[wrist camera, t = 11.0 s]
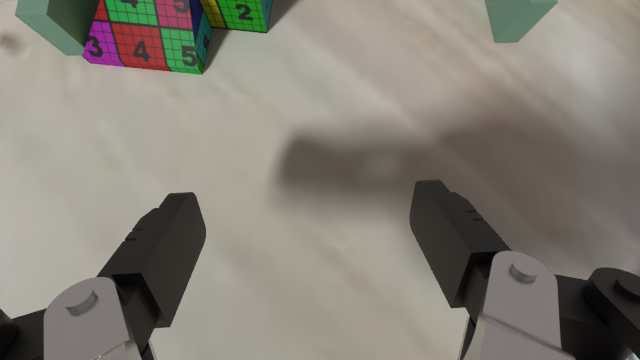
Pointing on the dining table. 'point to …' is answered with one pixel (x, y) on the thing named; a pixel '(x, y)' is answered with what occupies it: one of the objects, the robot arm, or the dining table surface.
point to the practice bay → (82, 3)
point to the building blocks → (167, 31)
